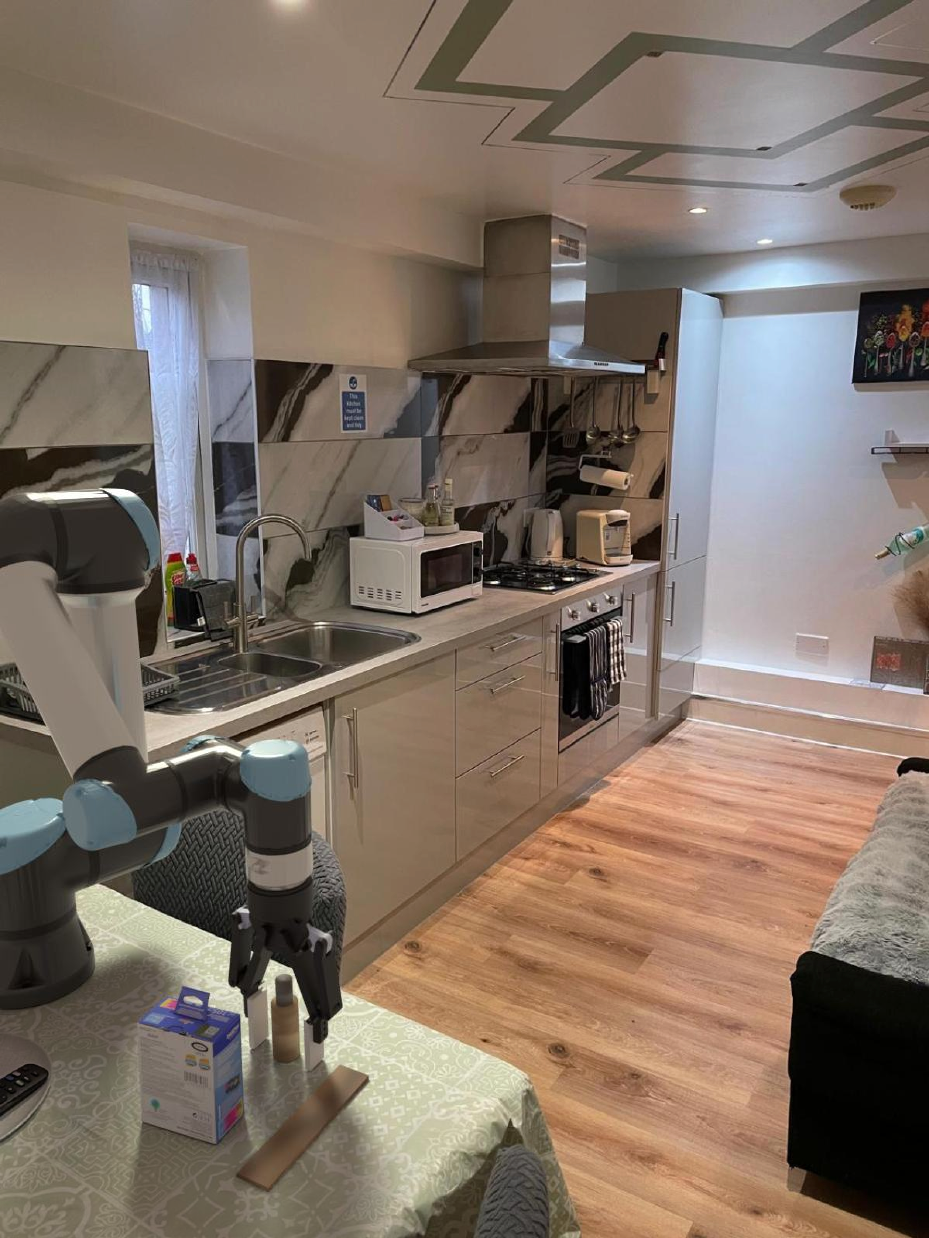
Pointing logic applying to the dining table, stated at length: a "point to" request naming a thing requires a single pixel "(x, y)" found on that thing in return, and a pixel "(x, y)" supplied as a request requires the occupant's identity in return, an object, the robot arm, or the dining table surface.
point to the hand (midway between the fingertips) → (286, 1051)
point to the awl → (285, 1021)
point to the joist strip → (302, 1128)
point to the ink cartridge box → (191, 1067)
